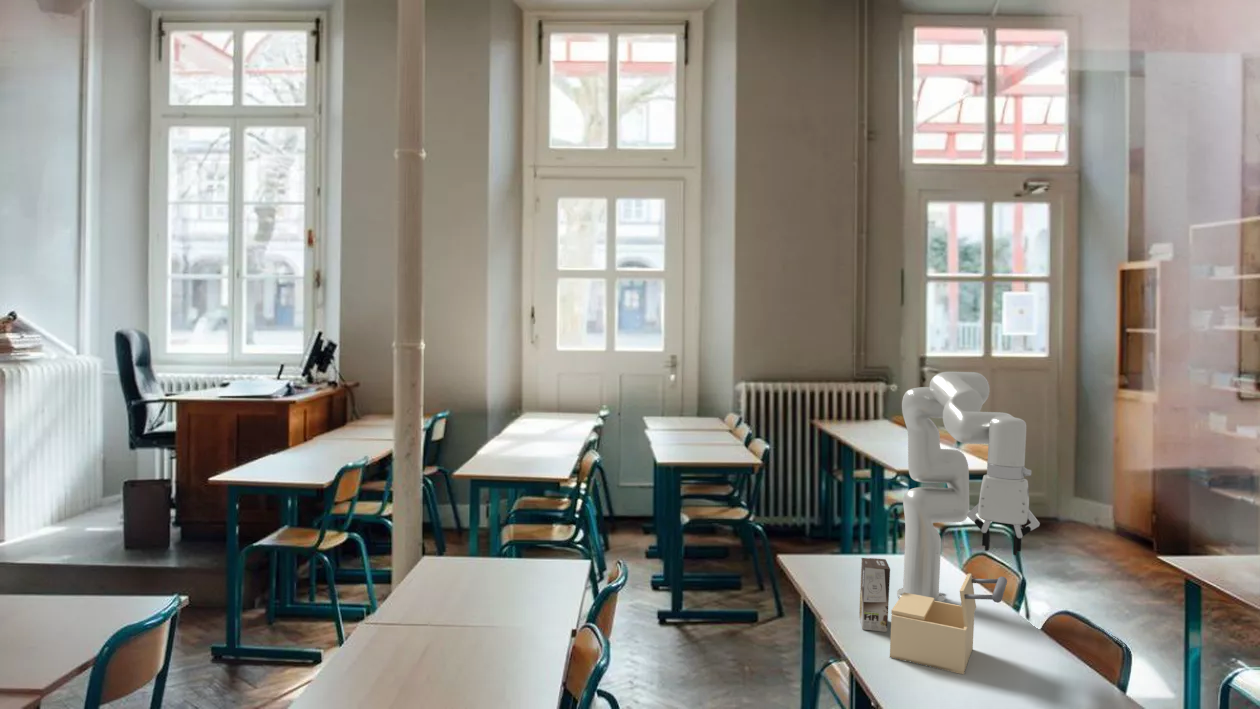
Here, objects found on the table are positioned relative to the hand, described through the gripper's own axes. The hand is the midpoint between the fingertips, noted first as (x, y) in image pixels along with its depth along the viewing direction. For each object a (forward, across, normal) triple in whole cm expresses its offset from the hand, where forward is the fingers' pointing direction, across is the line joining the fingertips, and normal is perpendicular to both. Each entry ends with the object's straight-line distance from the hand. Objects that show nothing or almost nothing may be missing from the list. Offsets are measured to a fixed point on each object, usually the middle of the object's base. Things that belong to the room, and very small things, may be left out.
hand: (1001, 550), depth 179 cm
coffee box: (+27, +30, -10) cm, 41 cm away
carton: (+27, +14, 0) cm, 30 cm away
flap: (+12, +7, 0) cm, 14 cm away
